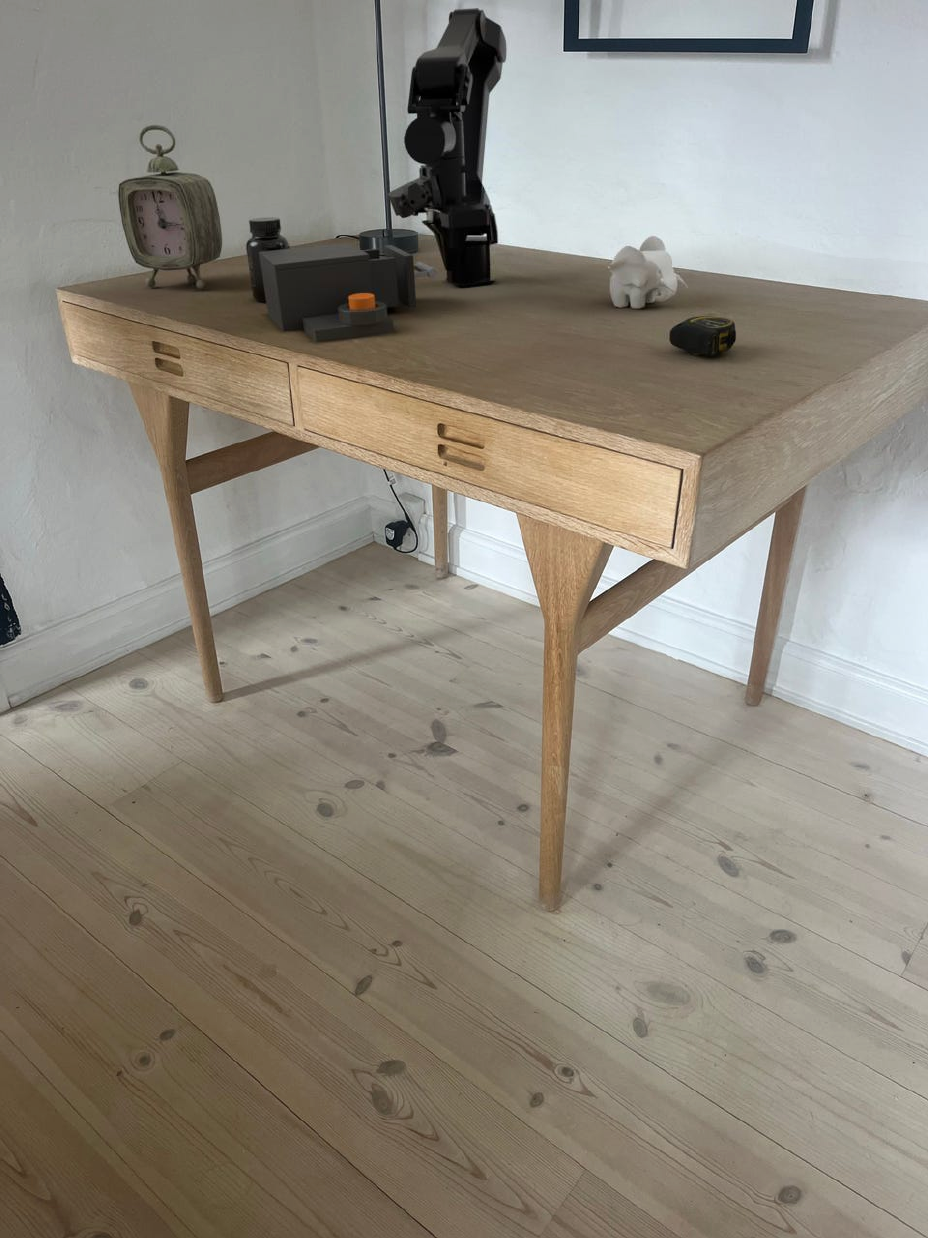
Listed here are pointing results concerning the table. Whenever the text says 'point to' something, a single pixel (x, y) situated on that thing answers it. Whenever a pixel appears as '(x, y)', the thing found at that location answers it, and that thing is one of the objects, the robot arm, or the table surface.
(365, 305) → the button
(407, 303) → the box with white handle
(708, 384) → the table surface
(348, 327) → the pad
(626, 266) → the elephant figurine
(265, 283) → the grey lidded box
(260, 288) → the supplement bottle
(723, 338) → the tape measure
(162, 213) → the tabletop clock
